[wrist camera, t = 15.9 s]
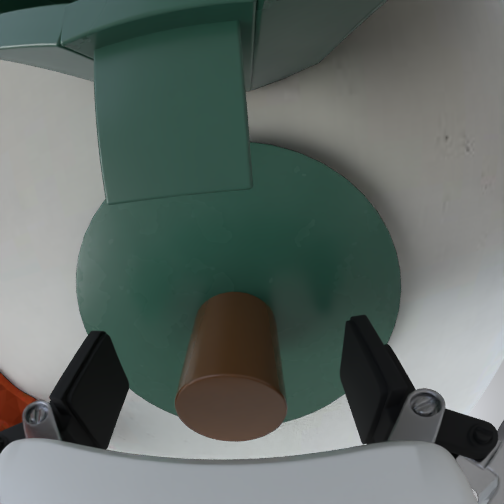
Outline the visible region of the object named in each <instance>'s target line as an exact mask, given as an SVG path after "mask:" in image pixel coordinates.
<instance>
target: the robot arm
mask: <svg viewBox="0 0 504 504" xmlns="http://www.w3.org/2000/svg"><path fill="white" fill-rule="evenodd" d="M340 380H341V383H342V385H343V388H344V391H345V394H346V397H347V400H348V403H349V406H350V409H351V412H352V415H353V418H354V421H355V424H356V427H357V430H358V433H359V436H360V439H361V442H362V444H367V445H362V446H355V447H350V448H344V449H339V450H332V451H326V452H319V453H311V454H303V455H295V456H285V457H274V458H260V459H234V460H206V459H181V458H167V457H156V456H146V455H138V454H130V453H123V452H117V451H111V450H106V449H107V447H108V445H109V442H110V439H111V436H112V433H113V430H114V428H115V425H116V422H117V419H118V417H119V414H120V411H121V408H122V406H123V403H124V400H125V398H126V395H127V392H128V390H129V382H128V379H127V377H126V374H125V372H124V370H123V367H122V365H121V363H120V360H119V358H118V355H117V353H116V350H115V348H114V345H113V343H112V340H111V338H110V336H109V335H108V334H106V332H105V331H91V332H90V333H89V334H88V336H87V337H86V339H85V340H84V342H83V343H82V345H81V346H80V348H79V350H78V351H77V353H76V354H75V356H74V357H73V359H72V360H71V362H70V364H69V365H68V367H67V368H66V370H65V372H64V373H63V375H62V376H61V378H60V380H59V381H58V383H57V385H56V386H55V388H54V390H53V391H52V393H51V395H50V396H49V398H50V399H51V401H50V403H48V402H46V401H43V400H38V401H34V402H32V403H30V404H29V405H28V406H27V407H26V408H25V409H24V411H23V414H22V422H21V423H18V424H16V425H14V426H12V427H9V428H7V429H5V430H3V431H0V504H504V439H503V441H501V440H500V439H498V433H497V430H496V429H495V427H494V426H493V425H492V424H491V423H489V422H486V421H483V420H480V419H477V418H473V417H470V416H467V415H464V414H461V413H457V412H454V411H451V410H448V409H445V401H444V399H443V397H442V396H441V395H440V394H439V393H438V392H436V391H434V390H431V389H426V388H423V389H417V390H416V389H415V388H414V386H413V384H412V382H411V381H410V379H409V377H408V375H407V374H406V372H405V370H404V369H403V367H402V365H401V363H400V362H399V360H398V358H397V357H396V355H395V353H394V352H393V350H392V348H391V347H390V346H389V345H388V344H385V345H384V344H383V342H382V341H381V339H380V337H379V336H378V334H377V332H376V331H375V329H374V327H373V326H372V324H371V322H370V321H369V319H368V317H367V316H366V315H358V316H352V317H351V318H350V320H349V321H346V324H345V333H344V342H343V350H342V358H341V365H340ZM472 489H473V490H474V491H476V493H477V496H478V502H477V499H476V497H475V495H474V493H473V490H472Z"/></svg>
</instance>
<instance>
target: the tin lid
mask: <svg viewBox="0 0 504 504" xmlns="http://www.w3.org/2000/svg"><path fill="white" fill-rule="evenodd" d="M250 153H251V166H252V179H253V187H252V188H251V189H249V190H237V191H225V192H214V193H204V194H194V195H185V196H176V197H167V198H159V199H151V200H143V201H136V202H129V203H122V204H115V205H108V204H107V203H106V199H105V201H104V202H103V203H102V205H101V206H100V208H99V209H98V211H97V212H96V214H95V215H94V217H93V218H92V220H91V223H90V225H89V227H88V229H87V231H86V233H85V235H84V238H83V242H82V245H81V249H80V252H79V256H78V263H77V272H76V291H77V299H78V305H79V311H80V314H81V317H82V321H83V324H84V327H85V329H86V332H87V334H89V333H90V332H91V331H105V332H106V334H108V335H109V336H110V338H111V340H112V343H113V345H114V348H115V350H116V353H117V355H118V358H119V360H120V363H121V365H122V367H123V370H124V372H125V374H126V377H127V379H128V382H129V388H130V389H131V390H132V391H133V392H135V393H136V394H137V395H139V396H140V397H142V398H143V399H145V400H146V401H148V402H149V403H151V404H153V405H155V406H157V407H159V408H161V409H163V410H165V411H167V412H169V413H171V414H174V415H176V416H178V417H179V418H180V419H181V421H182V422H183V423H184V424H185V425H186V426H187V427H189V428H190V429H192V430H193V431H195V432H197V433H199V434H201V435H203V436H206V437H209V438H212V439H216V440H222V441H247V440H253V439H257V438H260V437H263V436H265V435H267V434H269V433H271V432H273V431H274V430H276V429H277V428H278V427H279V426H280V425H281V424H282V423H283V422H287V421H290V420H294V419H297V418H300V417H303V416H305V415H308V414H310V413H313V412H315V411H317V410H319V409H321V408H323V407H325V406H327V405H329V404H330V403H332V402H333V401H335V400H337V399H338V398H340V397H341V396H342V395H344V394H345V391H344V388H343V385H342V383H341V380H340V365H341V358H342V350H343V342H344V333H345V324H346V321H349V320H350V318H351V317H352V316H358V315H366V316H367V317H368V319H369V321H370V322H371V324H372V326H373V327H374V329H375V331H376V332H377V334H378V336H379V337H380V339H381V341H382V342H383V344H384V345H385V344H387V343H388V341H389V339H390V336H391V334H392V331H393V329H394V326H395V323H396V319H397V315H398V311H399V304H400V295H401V279H400V268H399V263H398V258H397V253H396V250H395V247H394V244H393V242H392V239H391V236H390V234H389V231H388V229H387V228H386V226H385V224H384V222H383V221H382V219H381V217H380V215H379V214H378V212H377V211H376V209H375V208H374V207H373V206H372V204H371V203H370V202H369V201H368V200H367V198H366V197H365V196H364V195H363V194H362V193H361V192H360V191H359V190H358V189H357V188H356V187H355V186H354V185H353V184H351V183H350V182H349V181H348V180H347V179H346V178H345V177H343V176H342V175H340V174H339V173H337V172H336V171H334V170H333V169H331V168H330V167H328V166H326V165H325V164H323V163H321V162H319V161H317V160H315V159H313V158H310V157H308V156H306V155H304V154H301V153H299V152H296V151H293V150H289V149H286V148H282V147H278V146H275V145H270V144H263V143H255V142H250Z"/></svg>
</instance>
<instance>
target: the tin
mask: <svg viewBox="0 0 504 504" xmlns="http://www.w3.org/2000/svg"><path fill="white" fill-rule="evenodd" d="M386 1H387V0H0V60H6V61H11V62H16V63H21V64H26V65H31V66H35V67H40V68H44V69H48V70H52V71H56V72H60V73H64V74H68V75H72V76H75V77H79V78H82V79H86V80H89V81H93V82H94V94H95V111H96V125H97V136H98V146H99V155H100V163H101V170H102V177H103V184H104V191H105V197H106V203H107V204H108V205H115V204H122V203H129V202H136V201H143V200H151V199H159V198H167V197H176V196H185V195H194V194H204V193H214V192H225V191H237V190H249V189H251V188H252V187H253V179H252V166H251V153H250V140H249V127H248V115H247V102H246V91H251V90H254V89H257V88H259V87H262V86H265V85H267V84H270V83H273V82H276V81H278V80H281V79H284V78H286V77H288V76H290V75H292V74H295V73H297V72H299V71H301V70H303V69H305V68H307V67H310V66H312V65H315V64H317V63H318V62H321V61H322V60H323V59H324V58H325V57H326V56H327V55H328V54H329V53H330V52H331V51H332V50H333V49H334V48H335V47H336V46H337V45H338V44H340V43H341V42H342V41H343V40H344V39H345V38H346V37H347V36H348V35H349V34H350V33H351V32H352V31H354V30H355V29H356V28H357V27H358V26H359V25H360V24H361V23H362V22H364V21H365V20H366V19H367V18H368V17H369V16H370V15H371V14H372V13H374V12H375V11H376V10H377V9H378V8H379V7H380V6H382V5H383V4H384V3H385V2H386Z"/></svg>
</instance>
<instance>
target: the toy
mask: <svg viewBox="0 0 504 504" xmlns="http://www.w3.org/2000/svg"><path fill="white" fill-rule="evenodd" d="M34 401H37V400H36V399H34V398H33V397H31V396H29V395H27V394H25V393H24V392H22V391H20V390H19V389H17V388H16V387H15V386H14V385H13V384H11V383H10V382H9V381H8V380H7V379H6V378H5V377H4V376H3V375H2V374H1V373H0V431H3V430H5V429H7V428H9V427H12V426H14V425H16V424H18V423H21V422H22V414H23V411H24V409H25V408H26V407H27V406H28V405H29V404H30V403H32V402H34Z"/></svg>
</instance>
